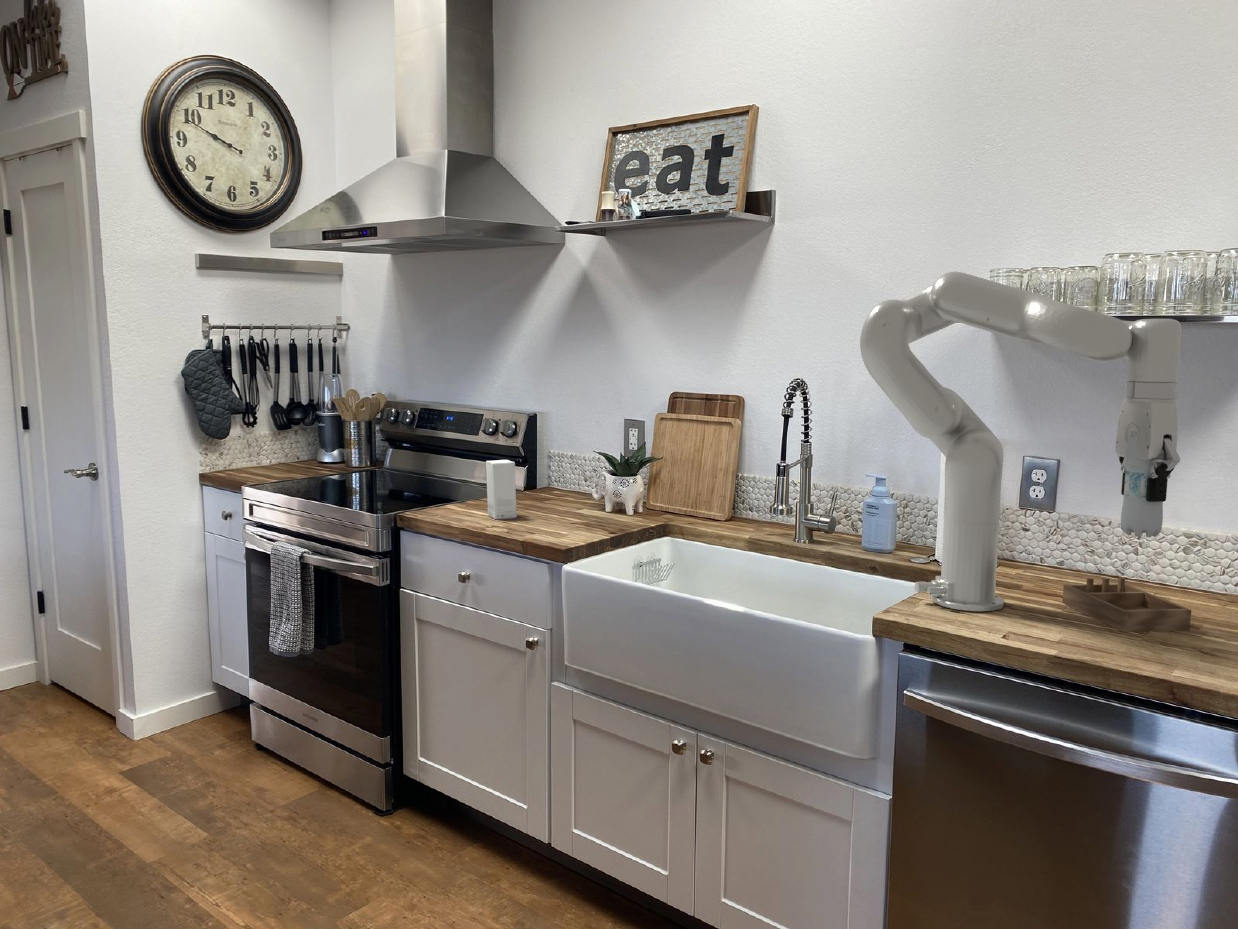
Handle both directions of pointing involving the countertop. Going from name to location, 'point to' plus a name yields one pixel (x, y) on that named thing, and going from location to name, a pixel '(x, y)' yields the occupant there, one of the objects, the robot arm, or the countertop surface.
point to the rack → (1126, 607)
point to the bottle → (1139, 497)
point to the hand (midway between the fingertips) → (1143, 497)
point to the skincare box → (501, 489)
